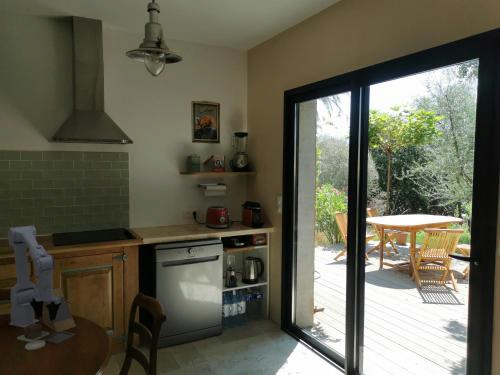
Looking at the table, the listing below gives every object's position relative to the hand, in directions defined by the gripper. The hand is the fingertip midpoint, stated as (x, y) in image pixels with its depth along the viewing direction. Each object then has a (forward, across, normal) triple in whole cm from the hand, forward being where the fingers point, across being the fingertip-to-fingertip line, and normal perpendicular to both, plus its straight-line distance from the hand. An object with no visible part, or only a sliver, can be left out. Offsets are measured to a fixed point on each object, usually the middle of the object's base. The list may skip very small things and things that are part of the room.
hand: (46, 318), depth 159 cm
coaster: (+8, +2, -7) cm, 11 cm away
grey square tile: (+8, +6, +1) cm, 10 cm away
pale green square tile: (+8, -6, -2) cm, 10 cm away
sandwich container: (+9, -5, +11) cm, 15 cm away
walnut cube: (+8, -6, -2) cm, 10 cm away
